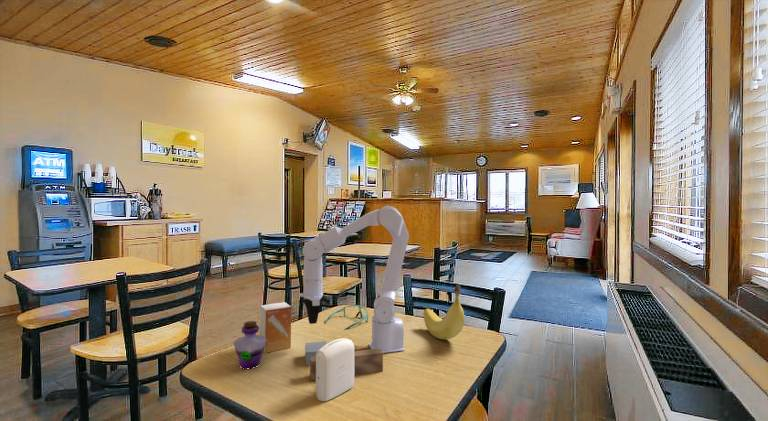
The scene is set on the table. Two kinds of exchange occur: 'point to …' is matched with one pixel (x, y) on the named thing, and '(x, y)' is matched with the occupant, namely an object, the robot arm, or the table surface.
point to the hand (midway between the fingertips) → (312, 322)
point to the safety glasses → (356, 315)
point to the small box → (276, 326)
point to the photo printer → (334, 369)
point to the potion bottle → (250, 346)
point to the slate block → (312, 350)
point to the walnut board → (358, 362)
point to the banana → (446, 320)
